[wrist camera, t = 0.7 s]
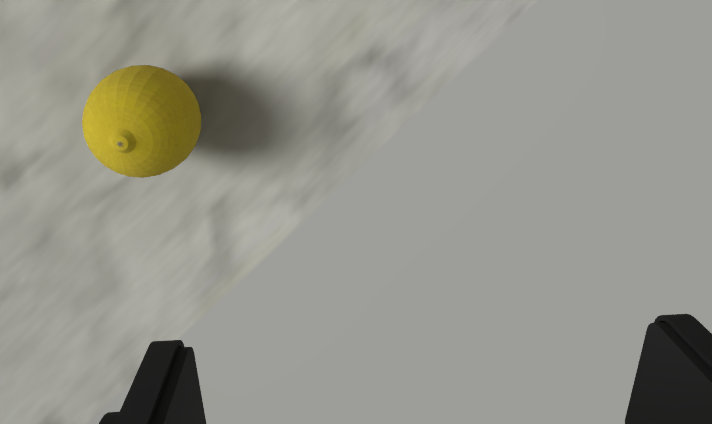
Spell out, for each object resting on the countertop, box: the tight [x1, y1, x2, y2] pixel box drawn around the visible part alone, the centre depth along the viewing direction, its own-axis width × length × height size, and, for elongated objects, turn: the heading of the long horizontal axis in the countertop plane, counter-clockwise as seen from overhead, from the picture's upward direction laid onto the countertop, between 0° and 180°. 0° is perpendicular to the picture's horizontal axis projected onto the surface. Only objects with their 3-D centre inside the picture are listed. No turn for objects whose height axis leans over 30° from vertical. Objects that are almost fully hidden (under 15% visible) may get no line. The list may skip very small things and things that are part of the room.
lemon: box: [82, 65, 201, 178], centre depth 29 cm, size 6×6×8 cm
